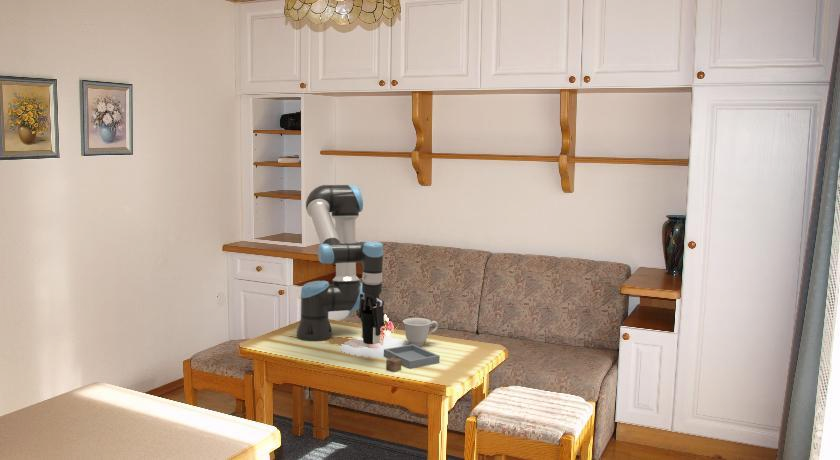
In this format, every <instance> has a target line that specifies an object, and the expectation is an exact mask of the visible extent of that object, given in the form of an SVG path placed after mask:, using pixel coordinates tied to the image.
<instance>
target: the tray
mask: <svg viewBox="0 0 840 460" xmlns="http://www.w3.org/2000/svg"><path fill="white" fill-rule="evenodd" d="M383 357H384V358H386V359H390V358H397V359H401V366H403V367H406V368H408V369H414V368H415V369H416V368H419V367H425V366H430V365H435V364H439V363H440V354H437V353H434V352H432V351H430V350H427V349H425V348H422V346H416V345H414V344H411V345H410V344H406V345H401V346H395V347H389V348H384V349H383Z"/></svg>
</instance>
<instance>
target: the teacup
mask: <svg viewBox="0 0 840 460" xmlns="http://www.w3.org/2000/svg"><path fill="white" fill-rule="evenodd" d="M402 323H403V324H404V330H405V338H406V340H407V341H408V342H409V345H411V344H414V345H416V346H418V347H422V346H424V343H425V342H426V341H427V340H428V337H429V336H430V334H432V333H434V332H436V331H437V329H438V328H439V323H438V322H437V321H436V320H431V319H428V318H422V317H408V318H406V319H403V320H402ZM433 325H435V327H434V328H433V329H431V330H430V327H433Z"/></svg>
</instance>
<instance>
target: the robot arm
mask: <svg viewBox="0 0 840 460" xmlns="http://www.w3.org/2000/svg"><path fill="white" fill-rule="evenodd" d="M363 208H364V200H363V195H362V191H361V189H360V187H359V186H357V185H353V184H330V185H329V184H322V185H319V186H317V187H315V188H314V189H312V191H310V193H309V194H308V196H307V197H306V201H305V209H306V212H307V214H308V216H309V217H310V218H311V219H312V223H313V225H314V229H315V232H316V235H317V237H318V240H319V243H320V244H319V245H318V249H317V257H318V260H319V262H320V263H321V264H329V265H331V264H335V276H334V278H332V284H331V283H329V281H327V280H313V281H309V282H306V283H305V284H303V285H302V286H301V290H300V320H299V323H298V327H297V330H296V338H298V339H300V340H303V341H313V342H315V341H316V342H317V341H324V340H325V341H326V340H328V339H331V338H332V337H333V329H332V325H331V323H330V320H329V313H331V312H344V311H349V312H350V311H357V310H358V314H357V315H358V316H357V317H358V319H360V321H361V322H362V315H361V312H362V311H363V310H364V313H369V312H370V309H371V310H372V314H374V318H373V320H374V325H375V326H373V344H372V345H375V344H380V343H381V328H382V327H385V312H384V306H385V301H384V300H380V294H381V293H382V292H383V284H382V282H383V261H384V245H383V243H381V242H380V241H363V240H361V241H360V240H359V241H358V242H356V220H357V218H359V213H360V212H362V211H363V210H364V209H363ZM333 219H334V221H333ZM334 222H335V223H334ZM357 263H362V275H361V276H362V282H361V281H360V278H359V277H358V276H357V266H356V265H357ZM360 327H361V328H362V325H361V326H360ZM360 336H361V339H363V330H362V329H361V335H360Z"/></svg>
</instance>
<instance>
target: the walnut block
mask: <svg viewBox="0 0 840 460" xmlns="http://www.w3.org/2000/svg"><path fill="white" fill-rule="evenodd" d="M385 370H386V371H387V372H388V371H389V372H392V373H396V372H398V371H399V372H400V371H401V370H402V365H401V359H397V358H390V359H389V358H386V365H385Z"/></svg>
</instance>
